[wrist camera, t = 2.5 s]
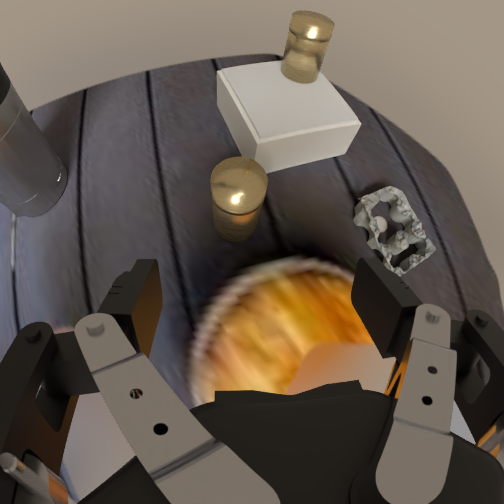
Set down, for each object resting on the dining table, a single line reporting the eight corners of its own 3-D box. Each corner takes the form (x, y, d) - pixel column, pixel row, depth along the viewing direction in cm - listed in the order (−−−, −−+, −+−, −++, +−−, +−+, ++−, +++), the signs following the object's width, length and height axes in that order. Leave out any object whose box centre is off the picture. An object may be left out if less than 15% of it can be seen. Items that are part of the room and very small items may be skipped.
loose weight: (221, 249, 33) (221, 212, 25) (207, 209, 34) (202, 165, 26) (264, 234, 34) (277, 194, 26) (248, 197, 35) (255, 150, 27)
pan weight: (291, 85, 33) (305, 28, 25) (274, 64, 35) (284, 10, 26) (324, 82, 34) (343, 29, 26) (306, 61, 36) (320, 11, 27)
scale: (252, 177, 36) (257, 140, 30) (215, 102, 40) (215, 65, 34) (344, 154, 39) (363, 120, 32) (298, 88, 43) (308, 54, 36)
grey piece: (344, 209, 36) (356, 193, 33) (385, 193, 38) (399, 177, 34) (384, 284, 34) (402, 275, 30) (423, 260, 35) (441, 250, 31)
